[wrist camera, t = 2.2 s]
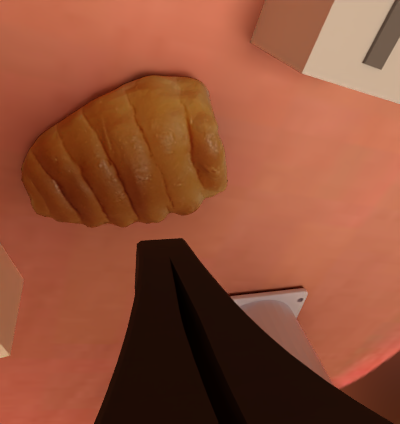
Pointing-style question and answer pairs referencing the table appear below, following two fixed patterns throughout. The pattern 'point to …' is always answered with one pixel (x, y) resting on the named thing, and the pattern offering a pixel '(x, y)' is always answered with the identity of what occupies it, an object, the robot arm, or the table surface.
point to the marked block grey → (336, 41)
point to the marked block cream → (8, 301)
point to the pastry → (129, 156)
